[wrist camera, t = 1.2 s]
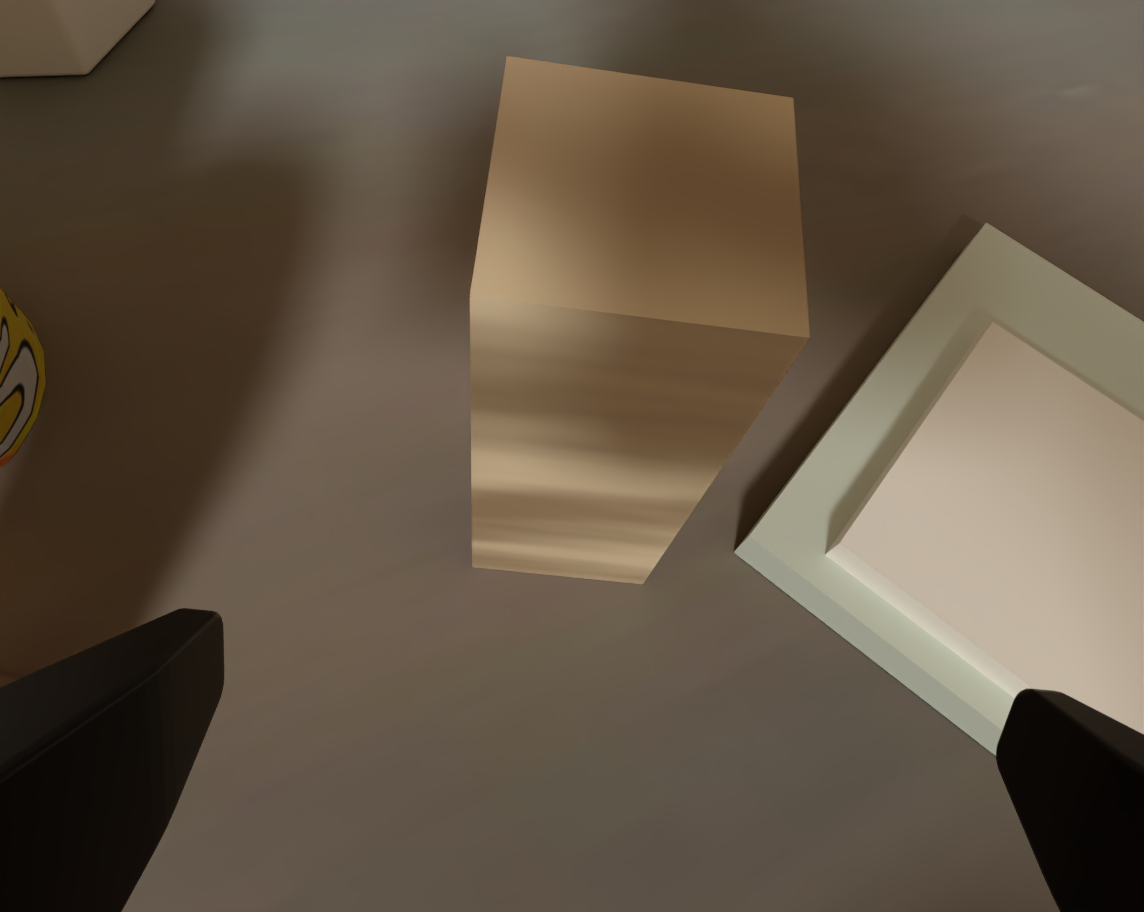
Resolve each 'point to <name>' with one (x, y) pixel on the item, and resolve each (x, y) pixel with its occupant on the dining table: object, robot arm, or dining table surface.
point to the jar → (62, 34)
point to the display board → (983, 498)
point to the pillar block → (624, 310)
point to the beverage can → (18, 377)
